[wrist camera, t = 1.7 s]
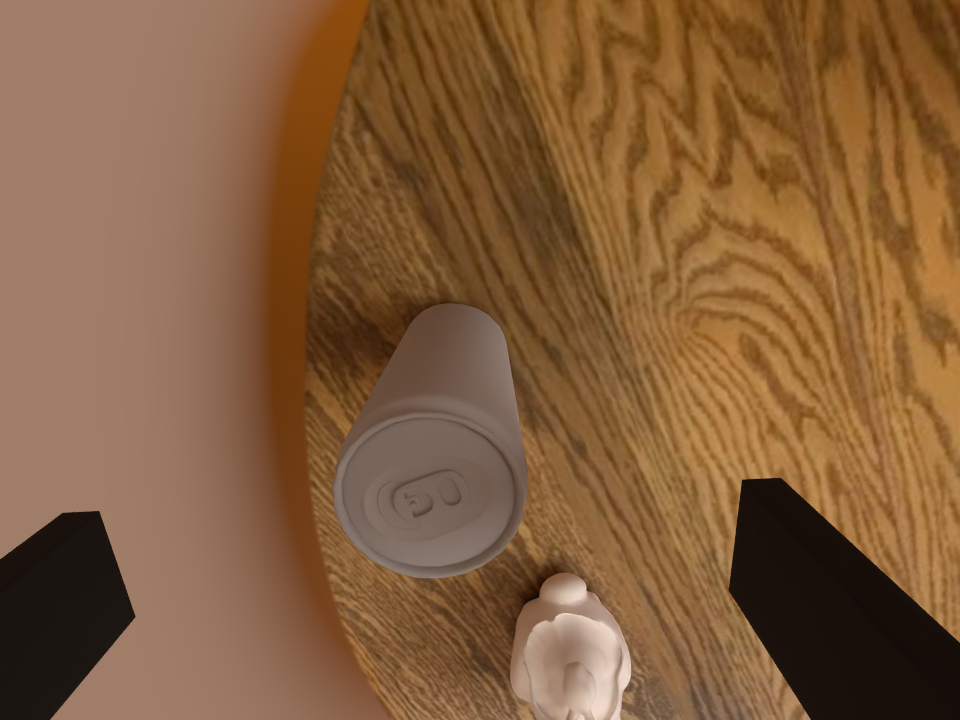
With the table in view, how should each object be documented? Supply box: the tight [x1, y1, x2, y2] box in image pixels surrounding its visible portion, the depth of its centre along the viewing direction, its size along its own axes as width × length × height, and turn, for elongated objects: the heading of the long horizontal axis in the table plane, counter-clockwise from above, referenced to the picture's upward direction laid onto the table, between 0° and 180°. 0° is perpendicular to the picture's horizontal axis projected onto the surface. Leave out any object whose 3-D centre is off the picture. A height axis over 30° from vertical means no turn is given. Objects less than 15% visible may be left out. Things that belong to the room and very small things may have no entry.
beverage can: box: [332, 303, 528, 578], centre depth 17 cm, size 5×5×12 cm
